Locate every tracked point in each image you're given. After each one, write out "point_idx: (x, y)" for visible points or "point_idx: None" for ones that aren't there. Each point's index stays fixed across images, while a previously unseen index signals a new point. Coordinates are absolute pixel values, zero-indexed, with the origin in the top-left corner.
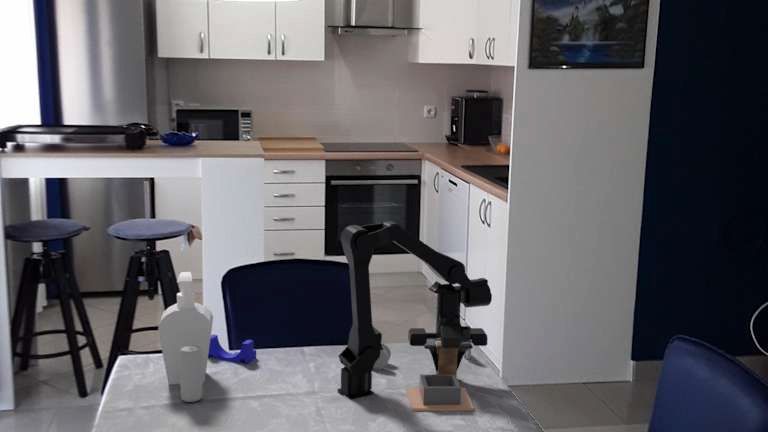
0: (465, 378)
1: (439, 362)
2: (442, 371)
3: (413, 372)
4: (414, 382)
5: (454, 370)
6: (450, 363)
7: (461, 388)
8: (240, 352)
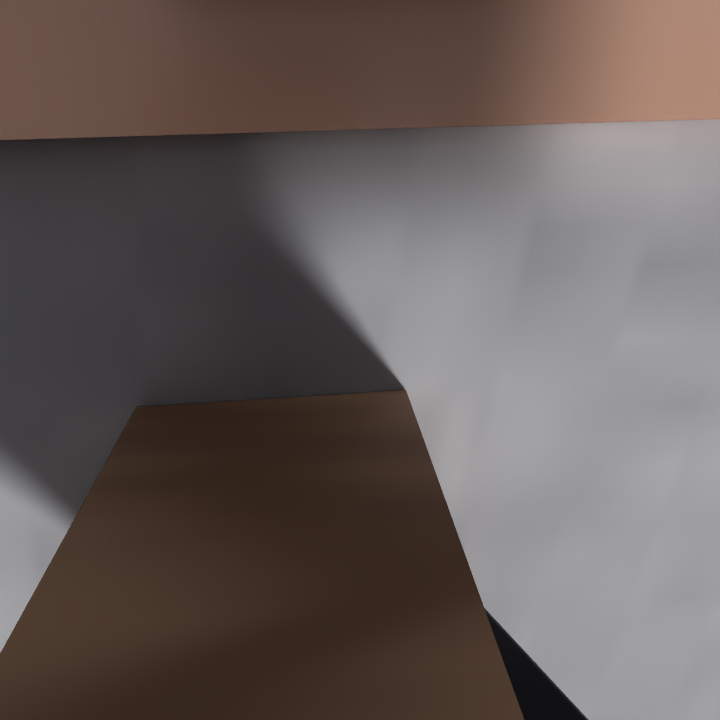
0: (13, 585)
1: (500, 691)
2: (370, 517)
3: (628, 679)
4: (713, 421)
5: (105, 550)
6: (168, 697)
7: (7, 96)
8: None
